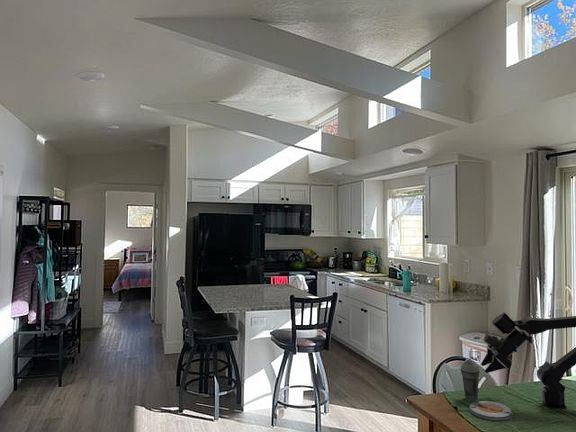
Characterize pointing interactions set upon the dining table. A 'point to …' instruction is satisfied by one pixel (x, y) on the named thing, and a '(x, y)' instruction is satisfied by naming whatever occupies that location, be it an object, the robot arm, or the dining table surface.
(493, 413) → the disc
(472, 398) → the beverage cup
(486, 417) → the base
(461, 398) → the dining table surface
